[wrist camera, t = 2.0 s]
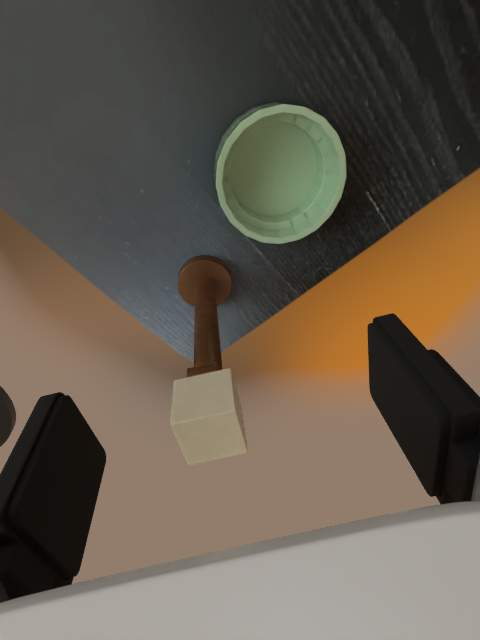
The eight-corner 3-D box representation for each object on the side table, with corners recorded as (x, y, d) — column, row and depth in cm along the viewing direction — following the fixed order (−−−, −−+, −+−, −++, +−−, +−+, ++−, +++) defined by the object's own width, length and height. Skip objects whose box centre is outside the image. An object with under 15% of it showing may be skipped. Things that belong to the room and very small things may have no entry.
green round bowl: (228, 238, 40) (231, 255, 36) (200, 119, 34) (201, 123, 30) (333, 213, 40) (349, 228, 36) (324, 89, 34) (342, 89, 29)
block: (189, 419, 28) (188, 465, 24) (173, 380, 25) (169, 424, 22) (241, 408, 27) (248, 453, 24) (230, 367, 25) (235, 410, 22)
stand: (186, 307, 44) (180, 431, 28) (171, 262, 41) (154, 372, 25) (235, 296, 44) (257, 414, 28) (224, 249, 41) (241, 353, 25)
